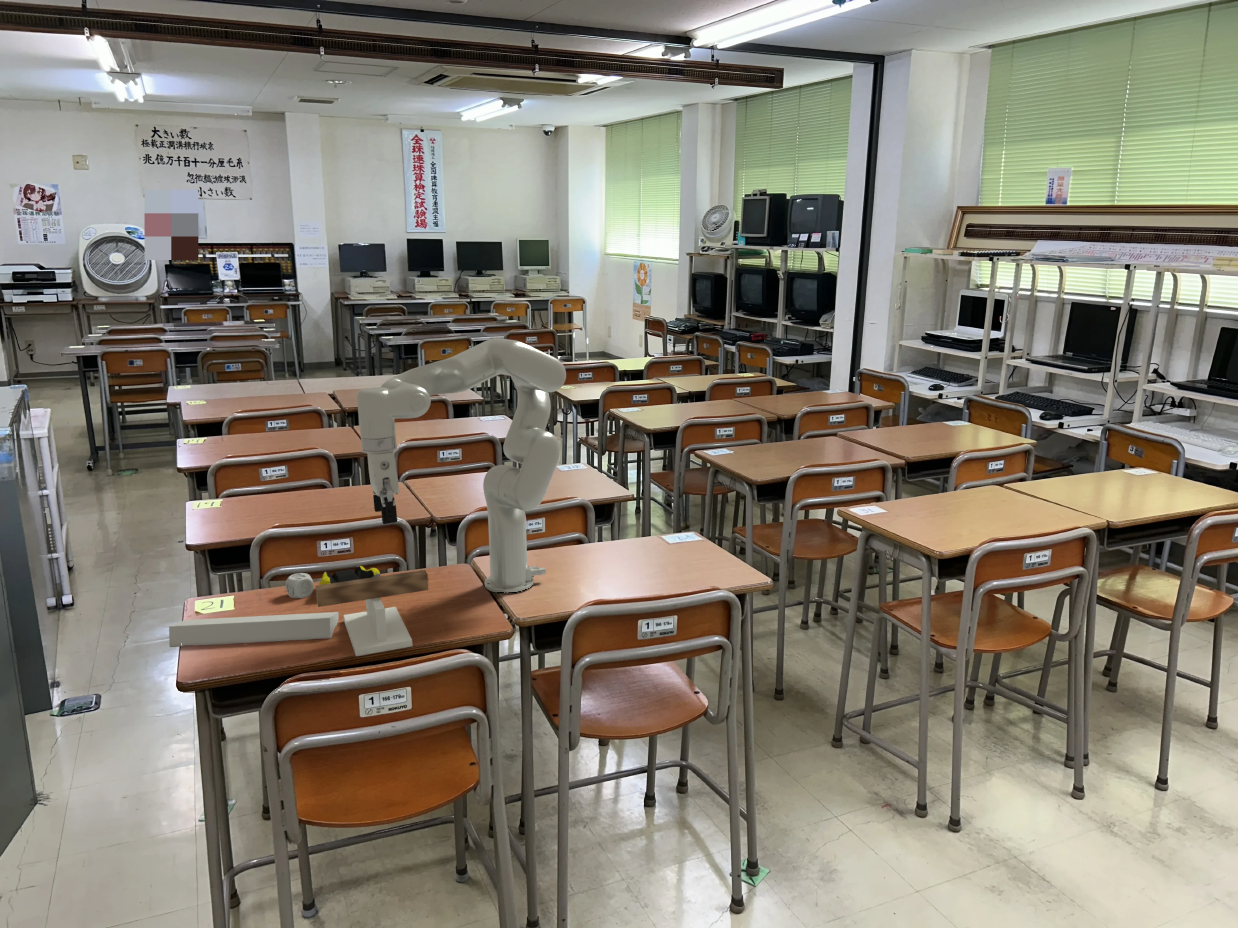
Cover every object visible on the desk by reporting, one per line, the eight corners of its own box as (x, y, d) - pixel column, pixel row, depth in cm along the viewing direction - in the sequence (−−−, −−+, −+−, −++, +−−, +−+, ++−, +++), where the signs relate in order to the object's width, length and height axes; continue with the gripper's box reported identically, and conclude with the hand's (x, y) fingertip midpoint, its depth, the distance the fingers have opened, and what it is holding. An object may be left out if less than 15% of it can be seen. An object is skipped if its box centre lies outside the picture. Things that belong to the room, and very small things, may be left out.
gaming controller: (383, 589, 225) (371, 577, 234) (381, 569, 224) (370, 557, 232) (323, 601, 218) (313, 588, 226) (321, 580, 216) (311, 568, 225)
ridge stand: (396, 612, 211) (393, 577, 209) (412, 646, 193) (410, 607, 191) (344, 620, 206) (341, 584, 204) (355, 656, 188) (352, 617, 186)
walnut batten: (426, 586, 203) (425, 569, 202) (428, 589, 201) (427, 573, 200) (316, 602, 194) (315, 585, 193) (318, 607, 192) (316, 589, 191)
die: (304, 589, 225) (302, 571, 224) (314, 594, 222) (313, 576, 221) (286, 595, 222) (284, 576, 220) (296, 600, 218) (294, 581, 217)
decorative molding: (186, 640, 203) (169, 648, 193) (185, 619, 203) (169, 626, 193) (339, 632, 207) (330, 639, 197) (338, 611, 207) (329, 617, 197)
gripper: (404, 449, 190) (410, 525, 194) (388, 434, 205) (395, 504, 209) (368, 454, 186) (375, 530, 191) (355, 437, 202) (362, 508, 206)
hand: (385, 516), depth 200 cm, fingers open, 9 cm apart
